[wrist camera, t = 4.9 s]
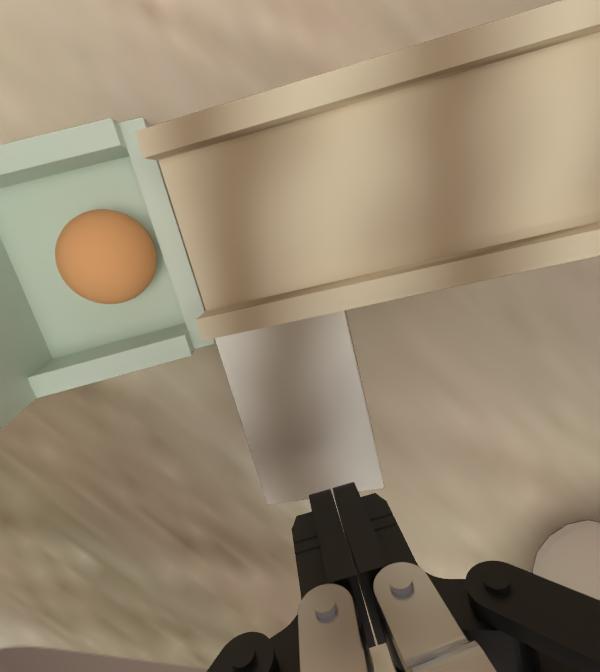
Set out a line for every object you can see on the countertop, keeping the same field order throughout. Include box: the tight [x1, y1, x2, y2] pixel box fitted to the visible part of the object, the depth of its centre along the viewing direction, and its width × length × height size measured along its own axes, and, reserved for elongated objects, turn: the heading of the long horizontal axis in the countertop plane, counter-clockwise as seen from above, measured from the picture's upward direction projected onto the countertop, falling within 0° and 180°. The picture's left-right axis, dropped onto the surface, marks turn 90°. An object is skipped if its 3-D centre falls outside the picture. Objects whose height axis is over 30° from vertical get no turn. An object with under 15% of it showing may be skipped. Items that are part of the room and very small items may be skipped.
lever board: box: [135, 0, 600, 505], centre depth 16 cm, size 20×15×5 cm
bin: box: [0, 117, 216, 430], centre depth 18 cm, size 9×10×7 cm
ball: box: [55, 209, 157, 304], centre depth 19 cm, size 4×4×4 cm
